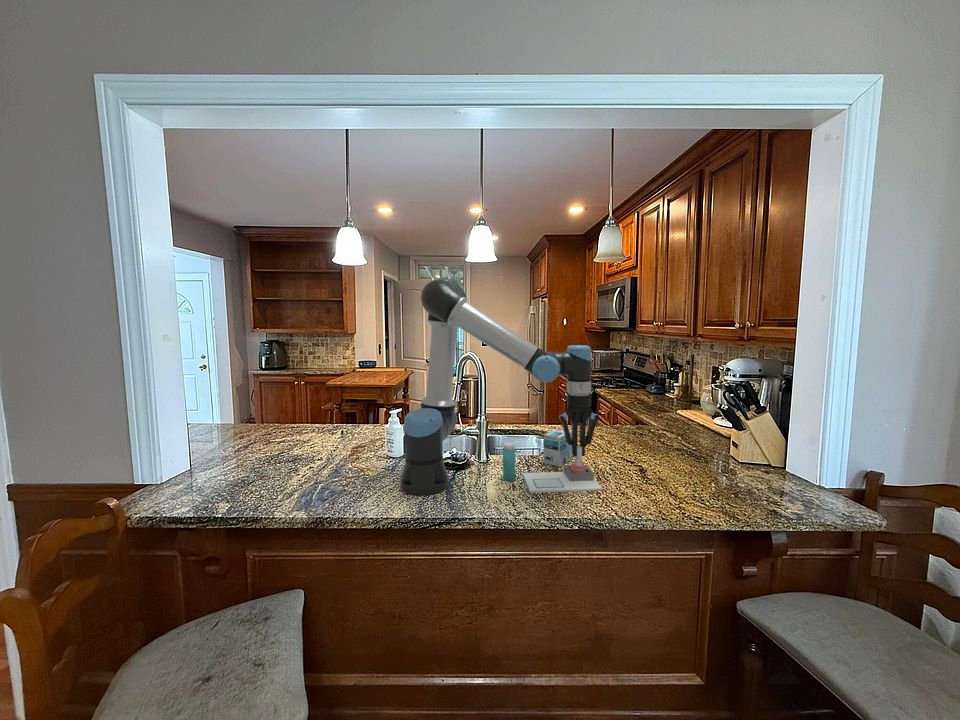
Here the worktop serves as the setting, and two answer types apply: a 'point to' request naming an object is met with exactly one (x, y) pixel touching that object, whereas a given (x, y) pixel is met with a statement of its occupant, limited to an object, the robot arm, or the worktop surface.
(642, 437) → the worktop surface
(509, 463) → the teal bottle
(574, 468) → the button
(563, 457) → the light bulb box
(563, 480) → the page board
